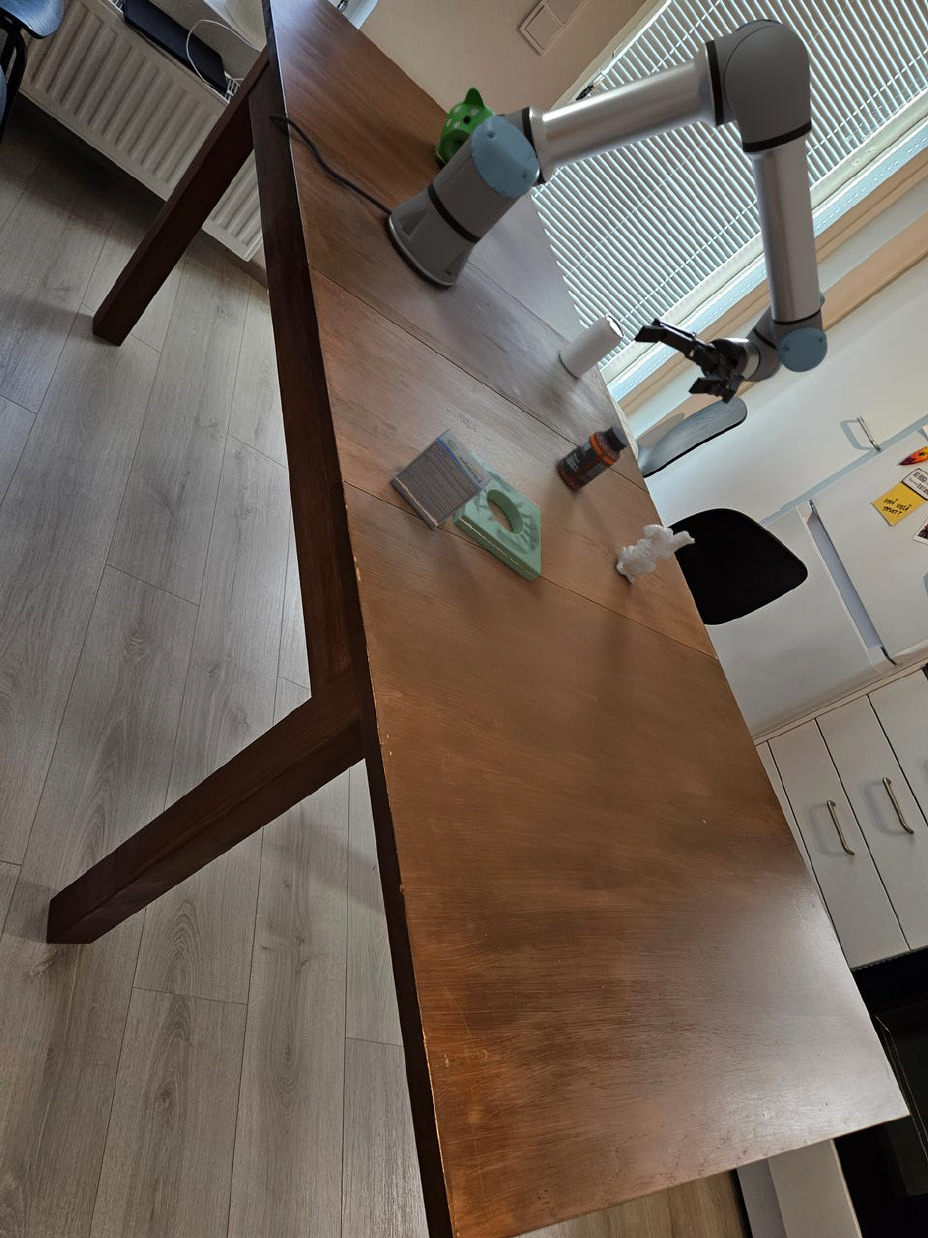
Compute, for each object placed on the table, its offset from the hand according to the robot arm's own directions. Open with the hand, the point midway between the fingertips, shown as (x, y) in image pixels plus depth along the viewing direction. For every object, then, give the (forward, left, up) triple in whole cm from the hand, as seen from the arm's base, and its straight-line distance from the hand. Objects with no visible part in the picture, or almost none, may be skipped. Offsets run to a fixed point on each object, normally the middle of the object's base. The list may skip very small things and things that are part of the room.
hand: (666, 359), depth 130 cm
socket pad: (-16, -38, -21) cm, 46 cm away
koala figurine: (+13, -25, -22) cm, 35 cm away
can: (+2, +28, -22) cm, 36 cm away
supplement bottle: (0, -12, -22) cm, 25 cm away
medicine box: (-29, -46, -22) cm, 58 cm away
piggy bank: (-35, +64, -22) cm, 76 cm away
